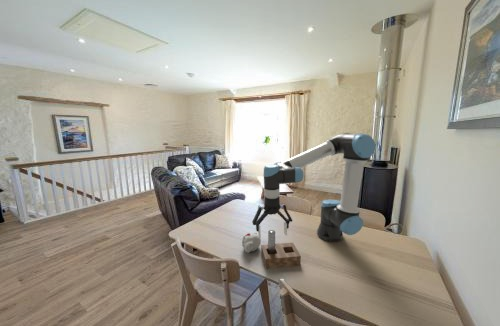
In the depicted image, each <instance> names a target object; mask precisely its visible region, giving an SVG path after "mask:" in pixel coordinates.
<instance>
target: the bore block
mask: <svg viewBox="0 0 500 326" xmlns="http://www.w3.org/2000/svg"><path fill="white" fill-rule="evenodd" d="M260 246H261V247H260V248H261V250H260V252H261V258H262V260H263V265H264V268H265V269H272V268H283V267H284V268H285V267H292V266H301V263H302V262H301V261H302V260H301V259H302V255H301V254H300V252H299V251H298V249H297V247H296V245H295V243H294V242H282V243H275V254H268V244H260Z"/></svg>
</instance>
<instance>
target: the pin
mask: <svg viewBox="0 0 500 326" xmlns="http://www.w3.org/2000/svg"><path fill="white" fill-rule="evenodd" d="M267 232H268V233H267V237H268V238H267V239H268V240H267V245H268V254H275V244H276V231H275V230H274V229H270V230H268V231H267Z"/></svg>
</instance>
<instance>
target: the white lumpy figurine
mask: <svg viewBox="0 0 500 326" xmlns="http://www.w3.org/2000/svg"><path fill="white" fill-rule="evenodd" d="M241 241H242V242H241V244H242V245H241V246H242V247H243V249H244V251H245V253H247V254H248V253H251V252H255V251H257V250H258V249H259V247H260V246H261V245H262V244H261V241H262V240H261V238H259V236H258V232H253V233H250V232H248V233H247V234H245V235H243V238H242V240H241Z"/></svg>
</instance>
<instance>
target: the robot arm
mask: <svg viewBox="0 0 500 326" xmlns="http://www.w3.org/2000/svg"><path fill="white" fill-rule="evenodd" d="M375 151H376V141H375V139H374V138H373V137H372V136H371V135H369V134H365V133H354V132H353V133H351V132H343V133H341V134H337V135H334V136H332V137H330V138H328V139H326V140H325V141H324V142H323V143H322V144H319V145H316V146H315V147H312V148H310V149H307V150H306V151H304V152H302V153H299V154H297V155H295V156H293V157H291V158H289V159H286V160H283V161H282V162H281V161H276V162H275V163H273V164H266V165H265V166H264V167H263V186H264V187H263V190H264V191H263V195H264V197H263V198H264V200H263V201H264V202H263V203H264V205H263V206H262V205H261V204H260V205H258V207H257V211H256V213H255V215H254V217H253V220H252V222H251V223H252V225H253V226H255V230H256V232H257V235H258V236H259V238H260V239H261V235H262V234H261V223H262V222H263V221H264V219H266V217H268V215H271V216H272V215H277V214H278V216H279V217H281V219H282V220H283V233H284V236H288V229H289V228H290V227H289V225H290V223H291V222H293V218H292V217H291V215H290V213H289V211H288V210H287V205H286V204H285V203H282V204H281V203H280V194H281V193H280V185H285V184H292V183H293V184H294V183H295V184H296V183H299V182H300V183H301V182H302V181H304V171H303V169H302V168H305V167H307V166H308V165H311V164H314V163H316V162H318V161H320V160H321V159H322V160H323V159H324V158H327V157H329V156H332V157H333V156H335V155H339V154H343V157H342V158H343V160H344V161H345V165H344V173H343V178H342V187H341V194H340V200H338V199H323V200H322V201H321V205H320V222H319V225H318V227H317V230H316V234H317V236H318V238H320V239H321V240H324V241H326V242H332V243H336V242H337V243H338V242H340V241H342V240H343V236H344V234H346V235H347V236H352V235H353V236H354V235H356V234H358V233H359V232H360V231H361V230H362V228H363V226H364V220H363V218H361V216H360V214H361V213H360V212H361V211H360V208H358V204H359V198H360V190H361V187H362V186H361V185H362V178H363V171H364V166H365V163H367V162H368V161H369V158H370V157H372V156H373V154H375ZM280 209H282V210H283V211H284V212H285V215H286V216H285V215H284V214H283V213H282V212H281V211H280ZM263 210H264V211H263ZM262 211H263V213H262ZM261 213H262V214H261ZM343 233H344V234H343Z"/></svg>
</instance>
